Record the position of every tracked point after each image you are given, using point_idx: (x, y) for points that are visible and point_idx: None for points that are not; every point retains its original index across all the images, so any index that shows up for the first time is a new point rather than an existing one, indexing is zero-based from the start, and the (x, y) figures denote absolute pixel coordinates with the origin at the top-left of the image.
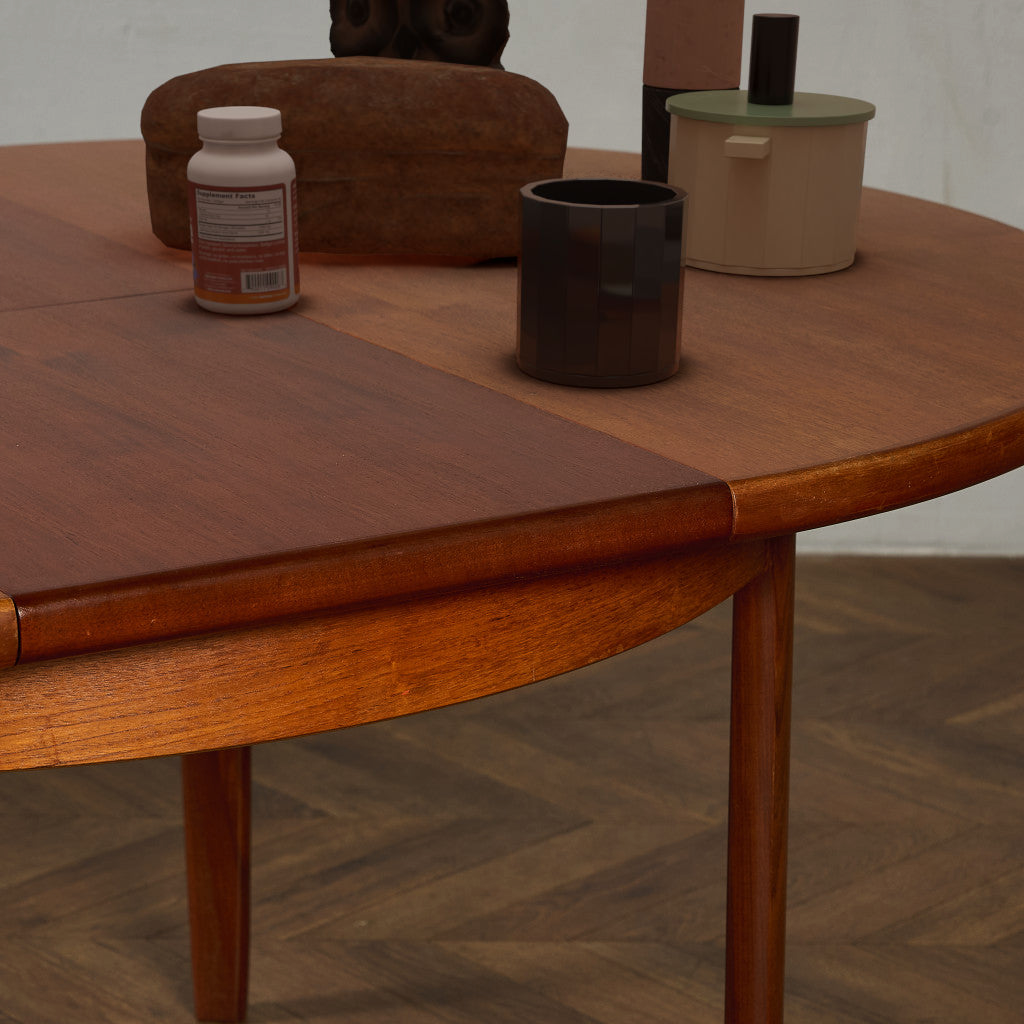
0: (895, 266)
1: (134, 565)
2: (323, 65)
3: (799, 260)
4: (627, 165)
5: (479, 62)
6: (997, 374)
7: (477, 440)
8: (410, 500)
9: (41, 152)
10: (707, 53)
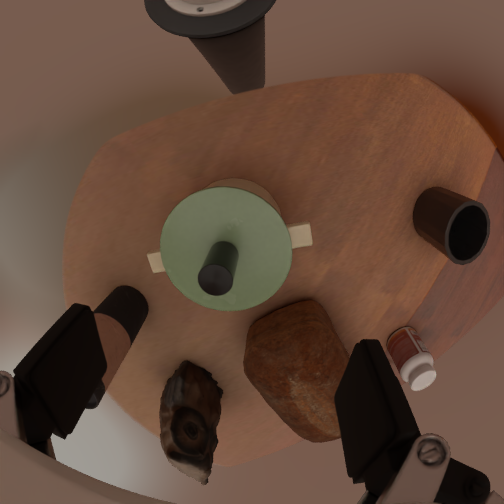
0: (217, 158)
1: None
2: (336, 415)
3: (269, 193)
4: None
5: (188, 409)
6: (385, 79)
7: (491, 215)
8: None
9: (228, 462)
10: (111, 335)
